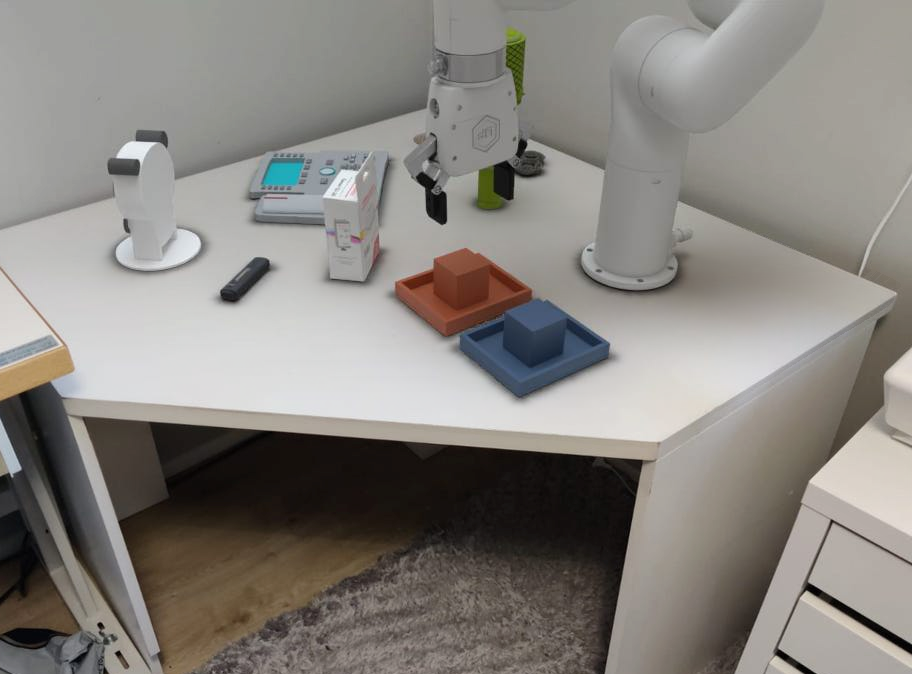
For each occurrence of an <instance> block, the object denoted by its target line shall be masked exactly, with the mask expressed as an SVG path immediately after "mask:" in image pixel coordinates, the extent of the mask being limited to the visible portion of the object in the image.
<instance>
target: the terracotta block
mask: <svg viewBox="0 0 912 674" xmlns="http://www.w3.org/2000/svg"><path fill="white" fill-rule="evenodd" d="M433 268H434V282H433V293H434V294H435V295H437V296H438V297H439V298H440V299H442V300H443V301H444V302H445V303H447V304H448V305H449V306H451V307H452V308H453V309H454V310H456V311H457V310H460V309H463V308H465V307H468V306H471V305H473V304H476V303H478V302H481V301H484V300H486V299H488V297H489V276H490V264H489V263H488V262H486V261H485V260H483V259H482V258H480V257H479V256H477V255H476V253H475V252H474V251H472V250H471V249H469V248H467V247H464V248H460V249H457V250H455V251H452V252H449V253H446V254H444V255H440V256H438V257H436V258H433Z"/></svg>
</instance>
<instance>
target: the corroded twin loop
mask: <svg viewBox="0 0 912 674" xmlns="http://www.w3.org/2000/svg"><path fill="white" fill-rule="evenodd" d="M519 159H520V164H519V166H518V167H516V168H515V171H516V172H517V173H519V174H522V175H523V176H524V175H525V176H529V175H533V174H538V173H540V172H541V171H542V168H543V167H544V164H543V163H544V160H546V155H545V154H543V153H542V152H540V151H538V150H537V151H536V150H525V151H524V153H523V154H522V155H521V157H520V158H519Z"/></svg>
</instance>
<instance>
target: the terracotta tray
mask: <svg viewBox="0 0 912 674" xmlns="http://www.w3.org/2000/svg"><path fill="white" fill-rule="evenodd" d="M475 254H476V255H477V256H479V257H480V258H482V259H483V260H485V261H486V262H488V263H489V264H490V276H489V297H488V299H486V300H484V301H481V302H478V303H476V304H473V305H471V306H468V307H465V308H463V309H460V310H457V311H456V310H454V309H453V308H452V307H451V306H449V305H448V304H447V303H445V302H444V301H443V300H442V299H440V298H439V297H438V296H437V295H435V294H434V293H433V282H434V267H433V268H431V269H428V270H425V271H422V272H419V273H417V274H413V275H410V276H408V277H405V278H402V279H399V280H396V281H394V294H395V295H394V296H395V297H397V298H398V299H399V300H401V302H403V303H404V304H406V306H408V307H409V308H410V309H412V310H413V311H414V312H415V313H416V314H418V315H419V316H420V317H421V318H423V320H424V321H426V322H427V323H429V324H430V325H431V326H432V327H433V328H434V329H436V330H437V331H438V332H439V333H440V334H442V335H443V336H444V337H448V336H450V335H453V334H457V333H458V332H461V331H463V330H466V329H468V328H471V327H473V326H476V325H478V324H482V323H484V322H486V321H488V320H491V319H494V318H496V317H500V316H501V315H505V311H507V310H509V309H512V308H514V307H517V306H519V305H522V304H524V303H527V302H530V301H532V300H533V299H532V297H533V289H532V288H531V287H530V286H528V285H526V284H525V283H524V282H522V281H521V280H520V279H518V278H516V277H515V276H514V275H512V274H511V273H510V272H508V271H506V270H505V269H503V268H502V267H501V266H499V265H498V264H496V263H495V262H494V261H492V260H490V259H489V258H488V257H486V256H485V255H483V254H482V253H480V252H476V253H475Z"/></svg>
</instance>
